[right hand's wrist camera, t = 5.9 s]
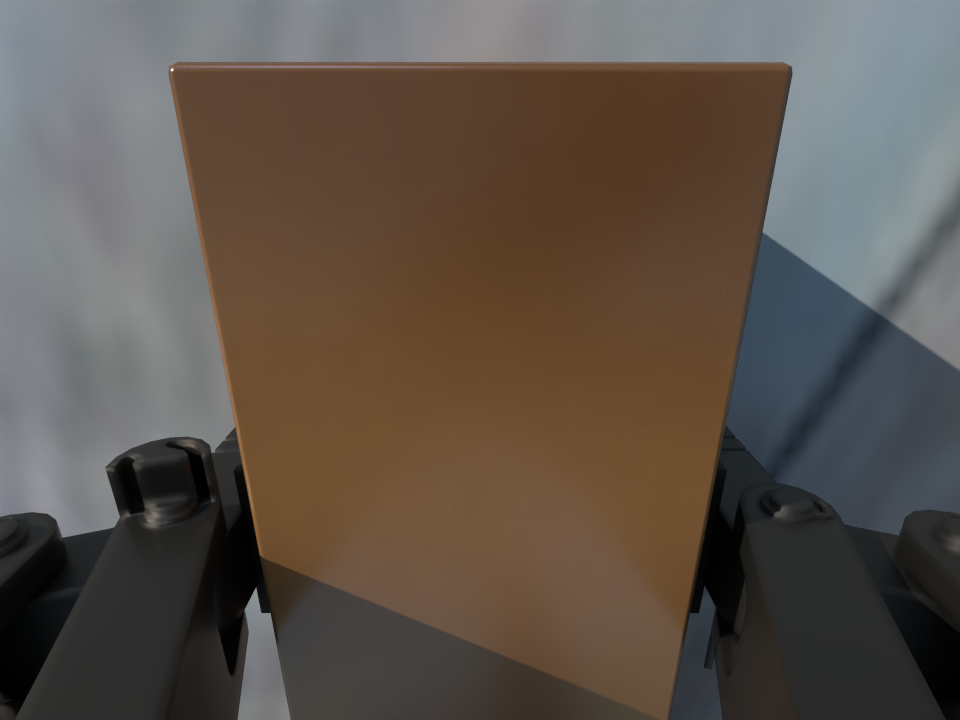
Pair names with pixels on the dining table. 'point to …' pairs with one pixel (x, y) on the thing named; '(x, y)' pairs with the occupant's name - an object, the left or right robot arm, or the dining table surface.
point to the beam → (480, 363)
